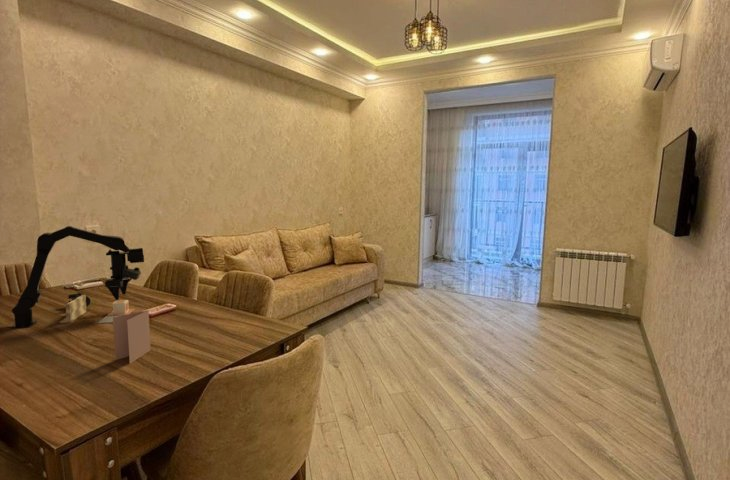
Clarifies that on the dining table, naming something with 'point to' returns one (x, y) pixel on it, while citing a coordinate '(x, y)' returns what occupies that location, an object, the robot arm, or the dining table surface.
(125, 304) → the marked cube
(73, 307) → the beech screen
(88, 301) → the end cap
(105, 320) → the slate tile
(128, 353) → the greeting card
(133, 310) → the terracotta tile
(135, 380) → the dining table surface
